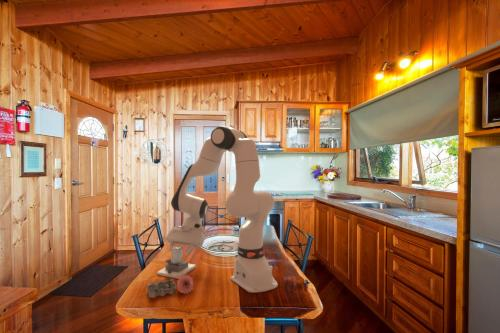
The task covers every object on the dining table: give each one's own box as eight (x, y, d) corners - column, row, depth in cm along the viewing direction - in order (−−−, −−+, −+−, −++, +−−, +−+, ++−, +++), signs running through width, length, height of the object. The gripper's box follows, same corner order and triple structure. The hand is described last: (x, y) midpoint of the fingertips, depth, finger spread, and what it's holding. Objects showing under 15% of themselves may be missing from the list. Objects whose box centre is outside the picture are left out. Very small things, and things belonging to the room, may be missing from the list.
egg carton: (148, 300, 100) (148, 289, 100) (146, 291, 107) (146, 281, 107) (176, 294, 105) (176, 284, 105) (173, 286, 112) (173, 276, 111)
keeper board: (175, 263, 135) (175, 248, 135) (195, 267, 131) (195, 251, 131) (155, 275, 121) (155, 258, 121) (177, 279, 117) (177, 262, 117)
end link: (182, 267, 128) (182, 247, 128) (178, 270, 124) (178, 249, 124) (176, 266, 129) (176, 246, 129) (171, 269, 126) (171, 248, 125)
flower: (175, 273, 110) (180, 269, 106) (193, 278, 113) (198, 274, 109) (170, 293, 104) (175, 290, 101) (189, 298, 107) (194, 295, 104)
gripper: (171, 222, 138) (158, 246, 129) (204, 226, 131) (194, 251, 122) (176, 228, 143) (164, 252, 134) (209, 232, 136) (199, 257, 127)
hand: (178, 252), depth 128 cm, fingers open, 8 cm apart
